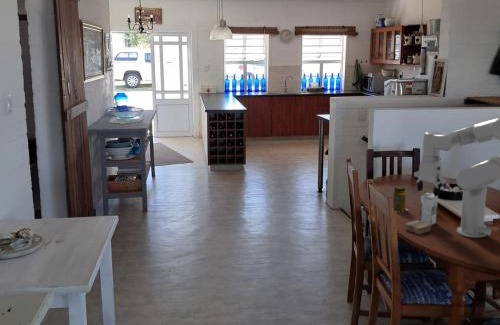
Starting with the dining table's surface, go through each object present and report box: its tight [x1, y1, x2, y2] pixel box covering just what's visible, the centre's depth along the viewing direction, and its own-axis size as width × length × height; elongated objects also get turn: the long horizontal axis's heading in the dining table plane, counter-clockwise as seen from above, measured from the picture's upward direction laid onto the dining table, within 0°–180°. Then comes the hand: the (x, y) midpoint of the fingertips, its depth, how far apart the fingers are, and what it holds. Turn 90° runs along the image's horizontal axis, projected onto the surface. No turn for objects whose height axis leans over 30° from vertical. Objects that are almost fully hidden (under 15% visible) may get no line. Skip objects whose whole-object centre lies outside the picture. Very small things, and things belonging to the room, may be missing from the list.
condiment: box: [392, 186, 409, 213], centre depth 266 cm, size 7×8×12 cm
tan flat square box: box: [404, 219, 432, 236], centre depth 237 cm, size 8×8×3 cm
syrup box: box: [419, 192, 439, 226], centre depth 244 cm, size 6×6×14 cm
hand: (428, 193), depth 243 cm, fingers open, 9 cm apart
